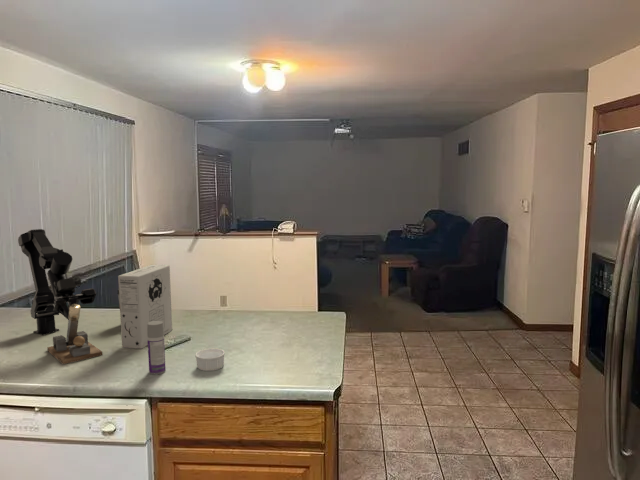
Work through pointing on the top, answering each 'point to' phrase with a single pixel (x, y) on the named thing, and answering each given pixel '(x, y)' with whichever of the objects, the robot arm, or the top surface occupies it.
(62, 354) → the tan base plate
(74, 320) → the lever
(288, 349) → the top surface
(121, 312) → the cereal box
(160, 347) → the container
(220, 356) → the ramekin
